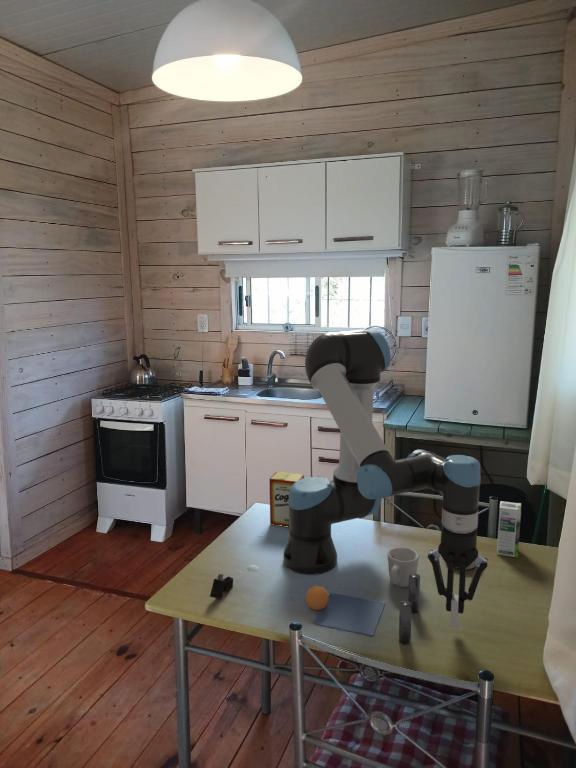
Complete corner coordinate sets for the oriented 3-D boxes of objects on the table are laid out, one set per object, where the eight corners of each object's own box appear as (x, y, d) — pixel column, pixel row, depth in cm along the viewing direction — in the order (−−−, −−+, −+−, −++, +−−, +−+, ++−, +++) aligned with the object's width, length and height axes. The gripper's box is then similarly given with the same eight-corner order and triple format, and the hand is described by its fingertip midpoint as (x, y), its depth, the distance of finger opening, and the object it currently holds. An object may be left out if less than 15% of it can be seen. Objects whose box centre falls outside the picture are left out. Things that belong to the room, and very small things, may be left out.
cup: (407, 598, 150) (408, 569, 149) (377, 589, 154) (378, 561, 153) (422, 579, 159) (423, 551, 158) (393, 571, 163) (394, 544, 162)
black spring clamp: (222, 598, 156) (227, 575, 158) (230, 600, 155) (235, 577, 157) (207, 595, 148) (212, 572, 150) (214, 597, 147) (220, 574, 149)
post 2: (407, 612, 144) (408, 577, 143) (408, 606, 147) (409, 572, 145) (417, 614, 144) (419, 579, 142) (419, 608, 146) (420, 574, 144)
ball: (315, 618, 144) (298, 602, 145) (321, 606, 149) (305, 590, 150) (329, 605, 142) (312, 589, 143) (335, 593, 147) (319, 577, 148)
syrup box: (496, 555, 172) (499, 507, 169) (497, 545, 177) (500, 499, 174) (517, 558, 170) (521, 510, 167) (517, 549, 175) (521, 502, 172)
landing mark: (313, 623, 140) (313, 623, 140) (330, 593, 153) (330, 592, 153) (372, 636, 135) (372, 635, 135) (385, 603, 148) (385, 602, 148)
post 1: (397, 642, 133) (398, 606, 131) (399, 636, 135) (400, 599, 133) (409, 645, 132) (410, 608, 130) (411, 638, 134) (412, 602, 133)
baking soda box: (304, 520, 196) (304, 473, 193) (298, 528, 190) (298, 480, 187) (276, 516, 199) (276, 470, 196) (270, 524, 193) (269, 477, 190)
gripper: (426, 529, 130) (422, 627, 134) (490, 538, 125) (483, 639, 130) (430, 515, 136) (426, 609, 141) (491, 523, 132) (485, 620, 137)
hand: (454, 624), depth 136 cm, fingers closed
